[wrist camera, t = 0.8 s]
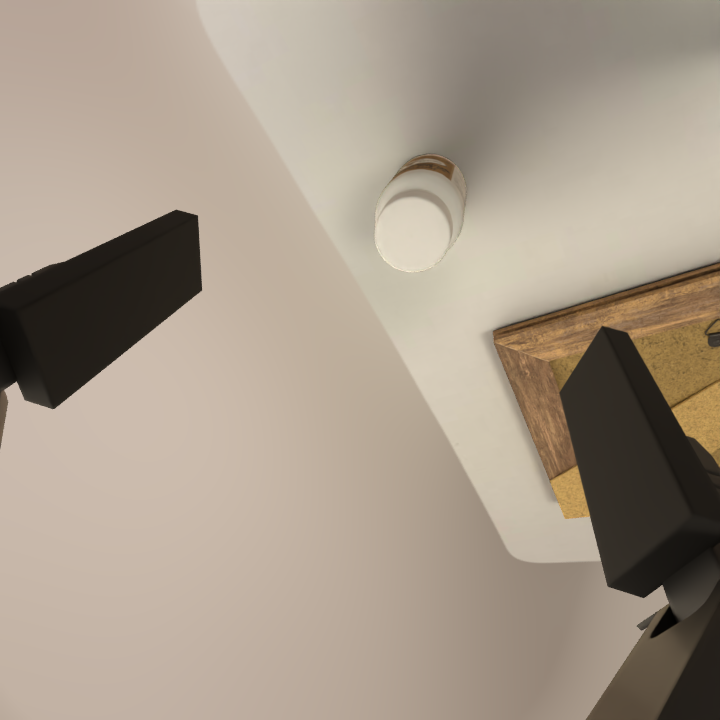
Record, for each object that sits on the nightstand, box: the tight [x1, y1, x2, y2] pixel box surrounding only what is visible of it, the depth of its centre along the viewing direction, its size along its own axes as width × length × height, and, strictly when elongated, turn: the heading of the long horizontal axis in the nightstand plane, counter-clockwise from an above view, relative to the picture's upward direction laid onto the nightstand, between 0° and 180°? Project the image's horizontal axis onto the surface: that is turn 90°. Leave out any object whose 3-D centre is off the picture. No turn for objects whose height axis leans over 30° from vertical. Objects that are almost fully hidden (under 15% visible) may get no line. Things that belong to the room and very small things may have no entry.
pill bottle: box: [374, 154, 466, 272], centre depth 21 cm, size 4×4×8 cm
